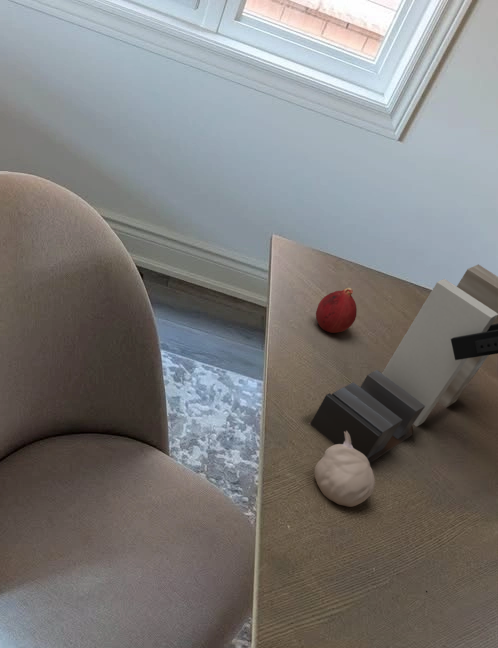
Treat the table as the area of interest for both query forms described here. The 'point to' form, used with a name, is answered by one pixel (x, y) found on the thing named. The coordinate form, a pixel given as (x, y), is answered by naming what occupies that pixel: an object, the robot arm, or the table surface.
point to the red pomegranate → (336, 311)
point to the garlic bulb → (345, 474)
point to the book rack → (395, 392)
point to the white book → (436, 344)
